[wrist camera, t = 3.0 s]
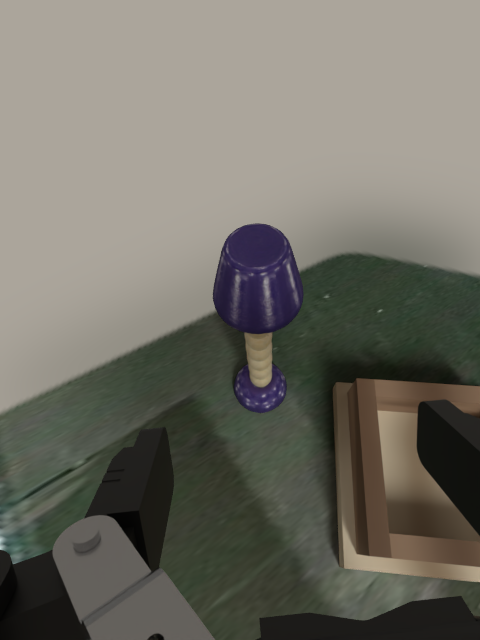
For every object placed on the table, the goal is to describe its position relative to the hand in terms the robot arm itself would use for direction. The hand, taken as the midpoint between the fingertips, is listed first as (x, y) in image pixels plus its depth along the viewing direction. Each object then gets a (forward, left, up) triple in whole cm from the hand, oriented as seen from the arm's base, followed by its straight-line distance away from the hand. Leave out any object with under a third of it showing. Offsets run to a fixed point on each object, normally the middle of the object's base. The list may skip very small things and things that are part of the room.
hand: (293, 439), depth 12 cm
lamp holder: (-11, -2, -17) cm, 20 cm away
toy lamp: (+2, -8, -17) cm, 19 cm away
